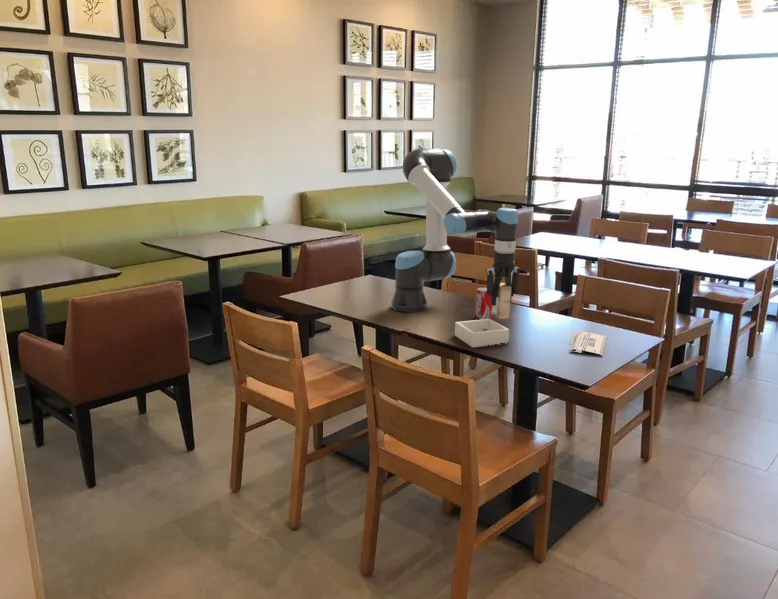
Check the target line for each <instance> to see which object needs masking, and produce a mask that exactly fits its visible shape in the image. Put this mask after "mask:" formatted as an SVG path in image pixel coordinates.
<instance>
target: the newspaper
mask: <svg viewBox="0 0 778 599" xmlns="http://www.w3.org/2000/svg"><path fill="white" fill-rule="evenodd" d="M575 334H576V336H574V335H575ZM574 337H575V338H574ZM573 338H574V341H573V344H572V340H573ZM606 339H608V337H607V336H606V335H603V334H600V333H594V332H587V331H576V333H575V332H573V333H572V332H571V335H570V339H569V340H570V341H569V345H570V344H572V346H571V349H570V348H569V351H570V350H571V352H575V351H576V349H577V350H582V351H583V352H588V353H593V354H597V355H600V357H601V356H604V353H603V352H605V349H606V343H607V340H606ZM571 352H570V353H571Z"/></svg>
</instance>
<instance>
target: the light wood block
mask: <svg viewBox="0 0 778 599" xmlns="http://www.w3.org/2000/svg"><path fill="white" fill-rule="evenodd" d="M497 297H499V300H498V314H494V313H492V316H494V317H496V318H497V319H499V320H502V319H503V320H504V319H510V310H511V304H510V299H511V286H509V285H506V284H505V282H500V286H499V290H498V294H497ZM492 309H493V305H492Z"/></svg>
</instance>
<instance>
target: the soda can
mask: <svg viewBox="0 0 778 599" xmlns="http://www.w3.org/2000/svg"><path fill="white" fill-rule="evenodd" d="M473 314H474V317H475V318H476V320H478V319H479V320H481V319H492V317H493V315H492V305H491V296H490V295H488V294H487V286H486V287H483V286H482V287H478V288H477V289H476V291H475V294H474V313H473Z"/></svg>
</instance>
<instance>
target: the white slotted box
mask: <svg viewBox="0 0 778 599" xmlns="http://www.w3.org/2000/svg"><path fill="white" fill-rule="evenodd" d="M454 336H455V337H456V338H458V339H460V340H461V341H463V342H464V343H466V344H467V345H468V346H469V347H471V348H478V347H479V348H480V347H487V346H488V345H489V346H494V345H495V344H497V345H501V344H500V343H505V344H508V343H507V342H509V343H510V329H509V328H508V327H506V326H505V325H502V324H501V323H499V322H497V321H495V320H493V319H492V318H490V319H481V320H478V319H473V320H464V321H463V320H462V321H455V322H454Z"/></svg>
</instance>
